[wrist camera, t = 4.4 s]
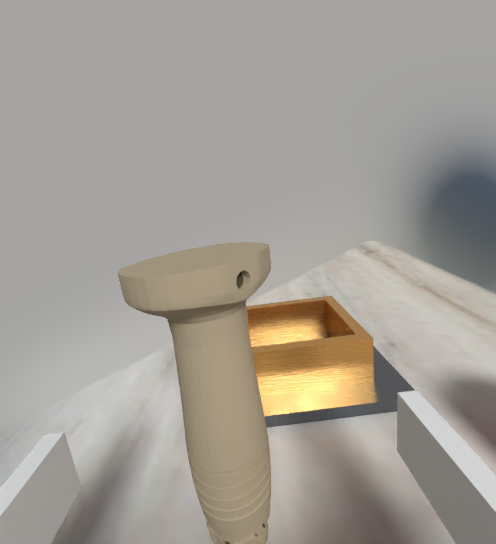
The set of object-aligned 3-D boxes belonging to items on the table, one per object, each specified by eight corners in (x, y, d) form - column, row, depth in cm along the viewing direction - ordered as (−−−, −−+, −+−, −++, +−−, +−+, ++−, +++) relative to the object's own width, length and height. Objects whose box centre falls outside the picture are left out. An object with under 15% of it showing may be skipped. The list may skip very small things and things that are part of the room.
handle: (166, 551, 15) (97, 271, 12) (248, 463, 20) (217, 241, 16) (231, 635, 12) (164, 283, 8) (312, 507, 17) (290, 242, 13)
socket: (214, 433, 23) (204, 376, 22) (223, 339, 38) (218, 302, 37) (420, 408, 23) (422, 349, 22) (346, 324, 38) (344, 287, 37)
